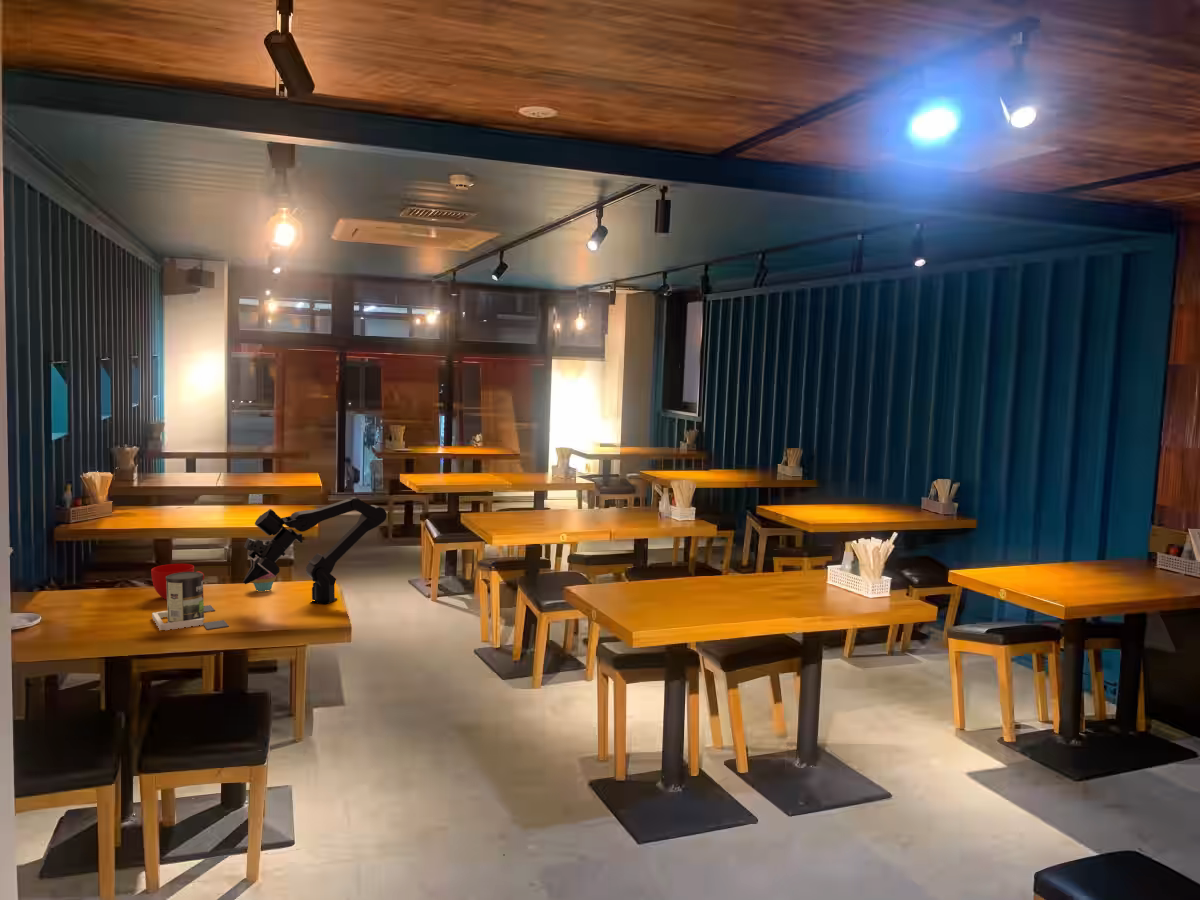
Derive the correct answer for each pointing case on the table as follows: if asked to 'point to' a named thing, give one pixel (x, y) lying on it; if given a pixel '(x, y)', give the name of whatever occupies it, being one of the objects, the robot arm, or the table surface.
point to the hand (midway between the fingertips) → (244, 583)
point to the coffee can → (185, 596)
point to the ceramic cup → (165, 570)
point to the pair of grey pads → (215, 623)
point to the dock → (173, 625)
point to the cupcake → (264, 582)
